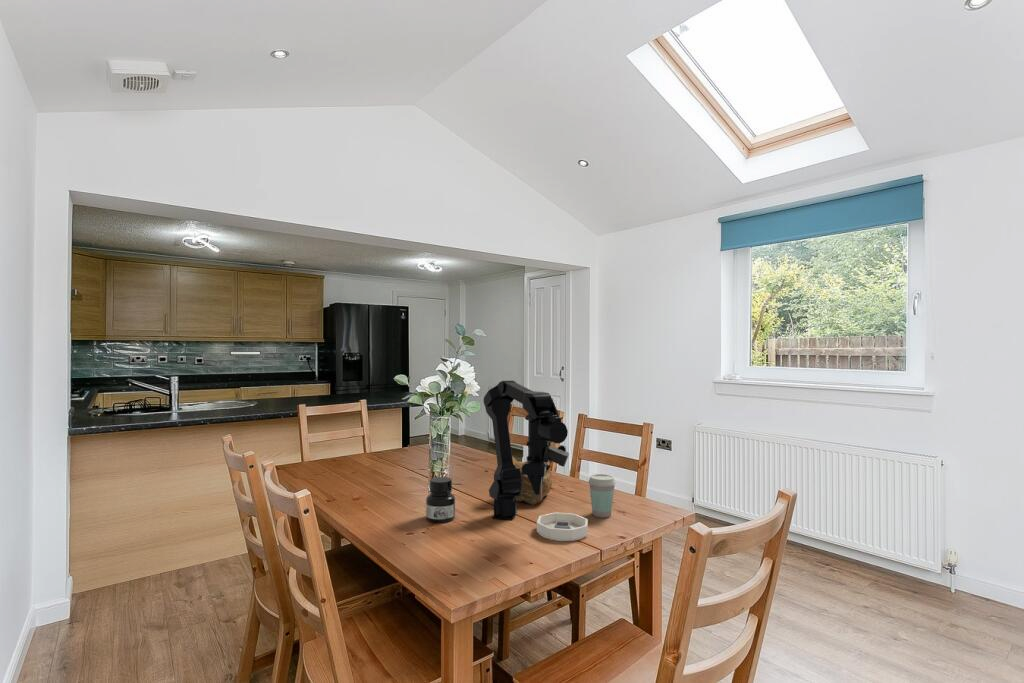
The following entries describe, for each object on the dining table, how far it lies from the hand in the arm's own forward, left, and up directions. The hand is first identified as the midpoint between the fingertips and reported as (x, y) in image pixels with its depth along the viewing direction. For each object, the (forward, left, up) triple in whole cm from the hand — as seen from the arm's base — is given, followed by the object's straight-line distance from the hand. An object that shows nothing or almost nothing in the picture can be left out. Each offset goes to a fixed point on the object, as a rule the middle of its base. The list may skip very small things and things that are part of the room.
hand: (537, 493), depth 143 cm
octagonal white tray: (+7, +5, -12) cm, 15 cm away
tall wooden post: (0, 0, -2) cm, 2 cm away
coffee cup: (+18, +23, -12) cm, 32 cm away
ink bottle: (-31, +9, -12) cm, 35 cm away
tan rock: (-7, +34, -12) cm, 37 cm away
